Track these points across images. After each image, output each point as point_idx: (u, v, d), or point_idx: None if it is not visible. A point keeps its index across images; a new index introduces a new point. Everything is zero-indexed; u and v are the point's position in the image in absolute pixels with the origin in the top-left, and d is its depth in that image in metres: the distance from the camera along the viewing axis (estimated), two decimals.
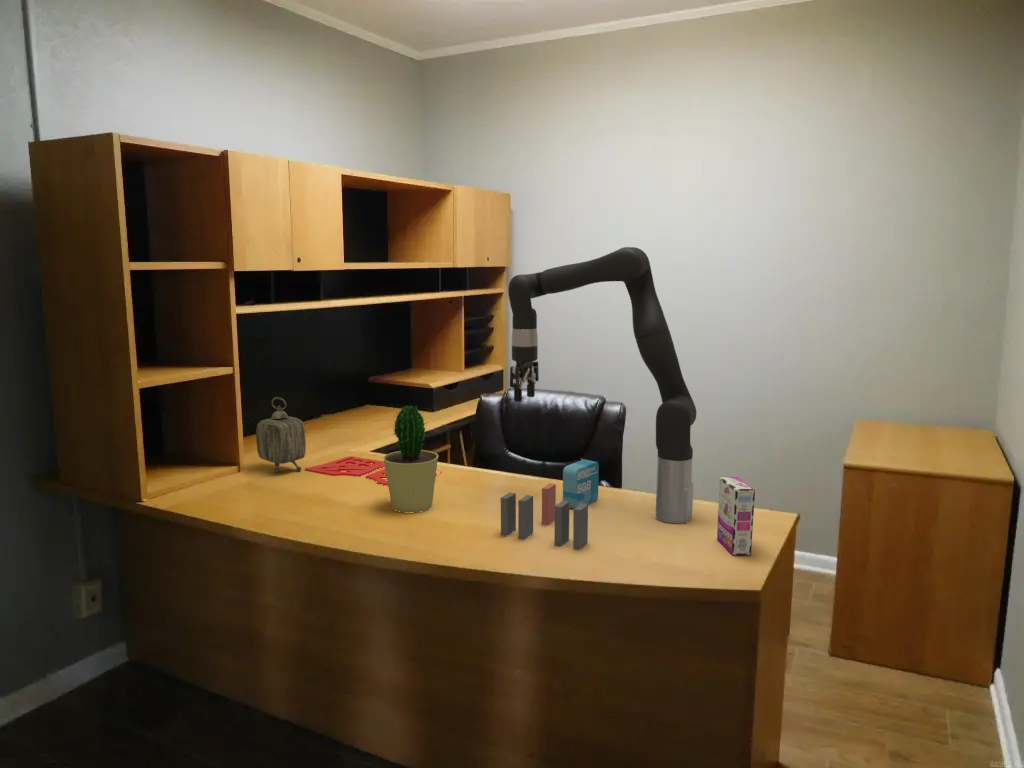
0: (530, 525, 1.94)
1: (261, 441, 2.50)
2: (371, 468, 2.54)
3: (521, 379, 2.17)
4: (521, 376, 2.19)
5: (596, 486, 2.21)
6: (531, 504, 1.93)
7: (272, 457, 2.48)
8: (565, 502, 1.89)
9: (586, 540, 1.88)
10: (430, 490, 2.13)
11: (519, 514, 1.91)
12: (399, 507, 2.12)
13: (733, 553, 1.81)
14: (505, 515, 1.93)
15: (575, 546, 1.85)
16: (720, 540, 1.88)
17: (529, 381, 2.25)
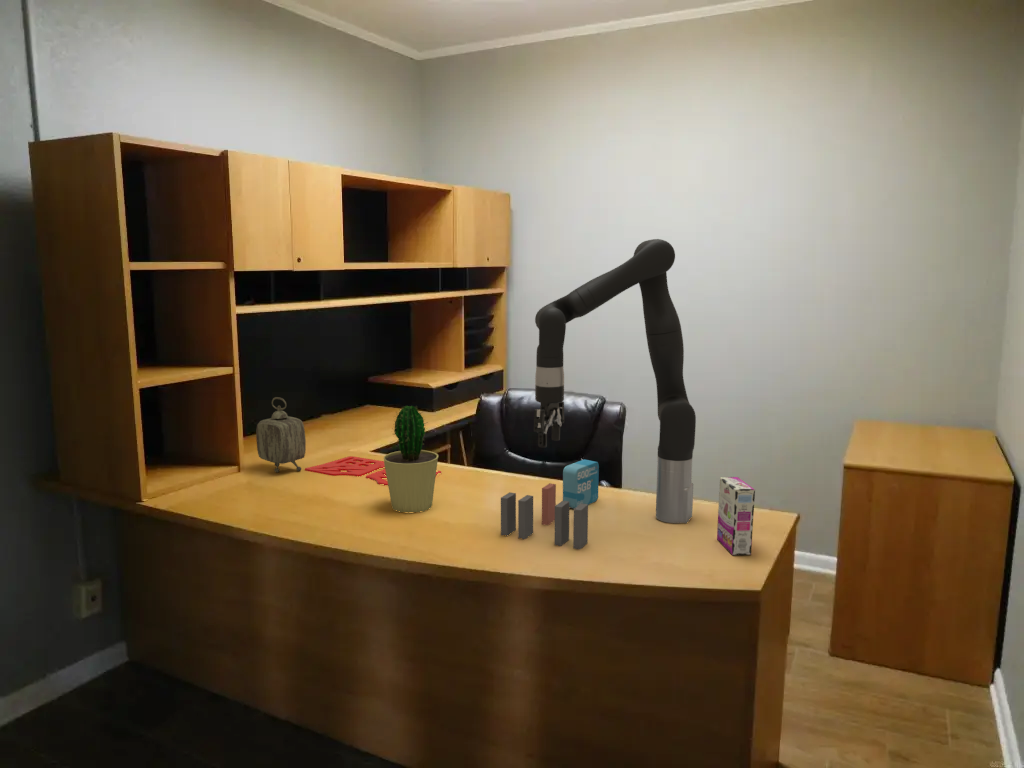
0: (530, 525, 1.94)
1: (261, 441, 2.50)
2: (371, 468, 2.54)
3: (546, 423, 1.96)
4: (546, 419, 1.97)
5: (596, 486, 2.21)
6: (531, 504, 1.93)
7: (272, 457, 2.48)
8: (565, 502, 1.89)
9: (586, 540, 1.88)
10: (430, 490, 2.13)
11: (519, 514, 1.91)
12: (399, 507, 2.12)
13: (733, 553, 1.81)
14: (505, 515, 1.93)
15: (575, 546, 1.85)
16: (720, 540, 1.88)
17: (554, 423, 2.04)
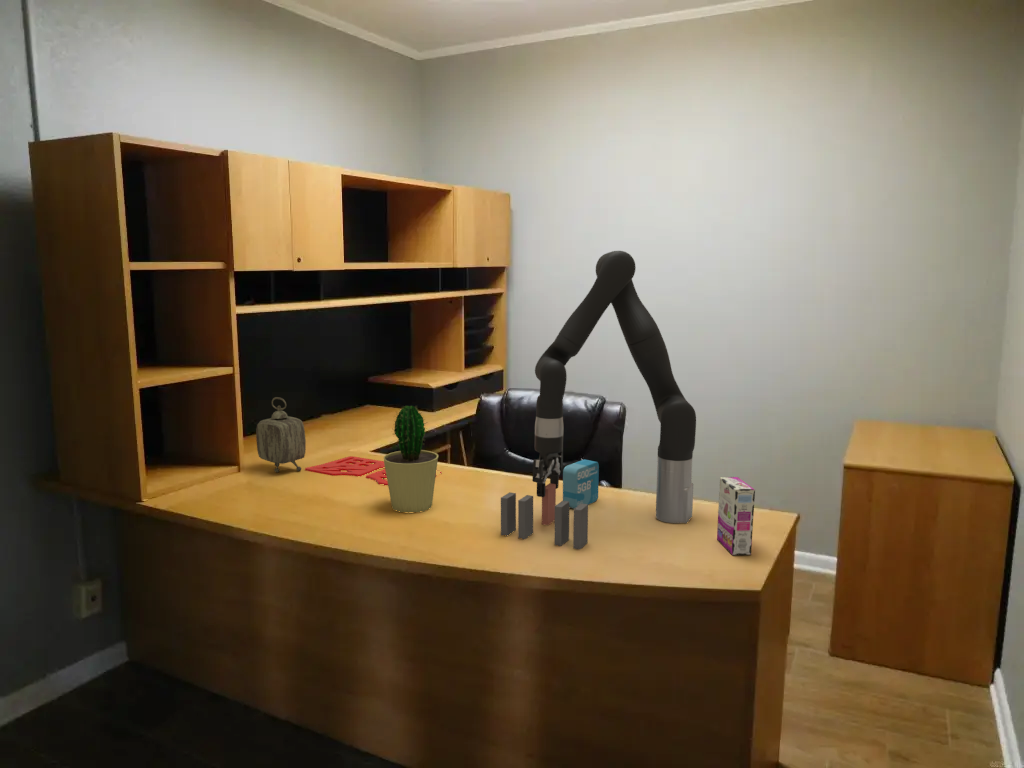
0: (530, 525, 1.94)
1: (261, 441, 2.50)
2: (371, 468, 2.54)
3: (545, 473, 1.98)
4: (545, 469, 1.99)
5: (596, 486, 2.21)
6: (530, 504, 1.93)
7: (272, 457, 2.48)
8: (565, 502, 1.89)
9: (586, 540, 1.88)
10: (430, 490, 2.13)
11: (519, 514, 1.91)
12: (399, 507, 2.12)
13: (733, 553, 1.81)
14: (505, 515, 1.93)
15: (575, 546, 1.85)
16: (720, 540, 1.88)
17: (553, 471, 2.06)
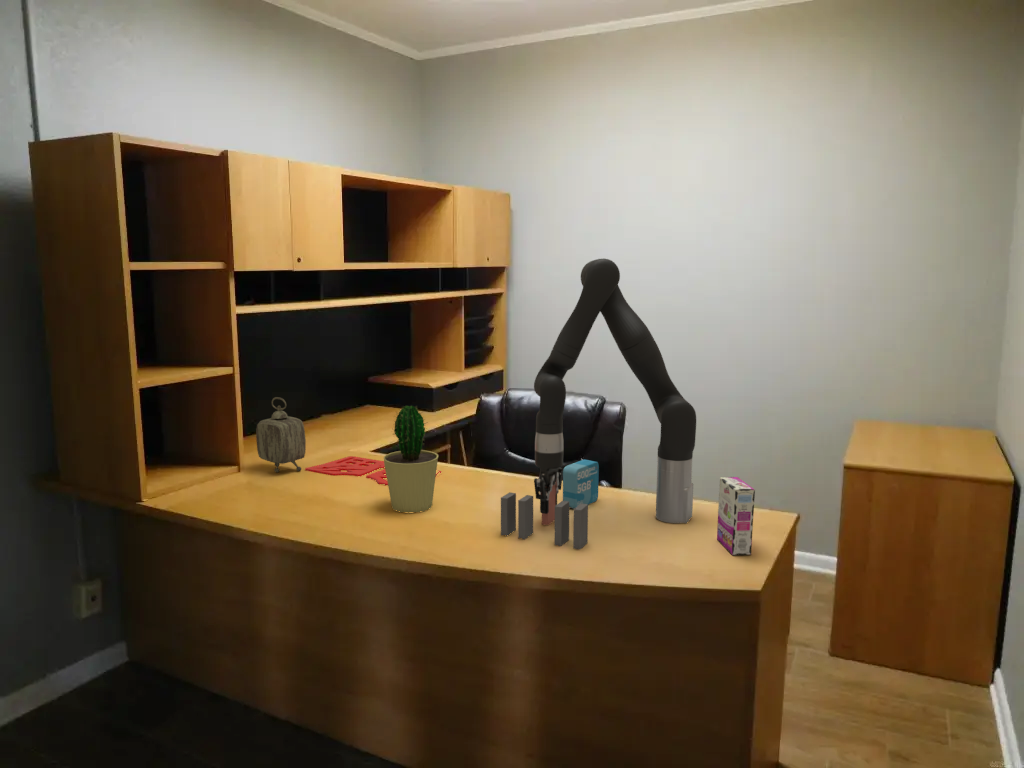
0: (530, 525, 1.94)
1: (261, 441, 2.50)
2: (371, 468, 2.54)
3: (547, 489, 1.99)
4: None
5: (596, 486, 2.21)
6: (530, 504, 1.93)
7: (272, 457, 2.48)
8: (565, 502, 1.89)
9: (586, 540, 1.88)
10: (430, 490, 2.13)
11: (519, 514, 1.91)
12: (399, 507, 2.12)
13: (733, 553, 1.81)
14: (505, 515, 1.93)
15: (575, 546, 1.85)
16: (720, 540, 1.88)
17: None
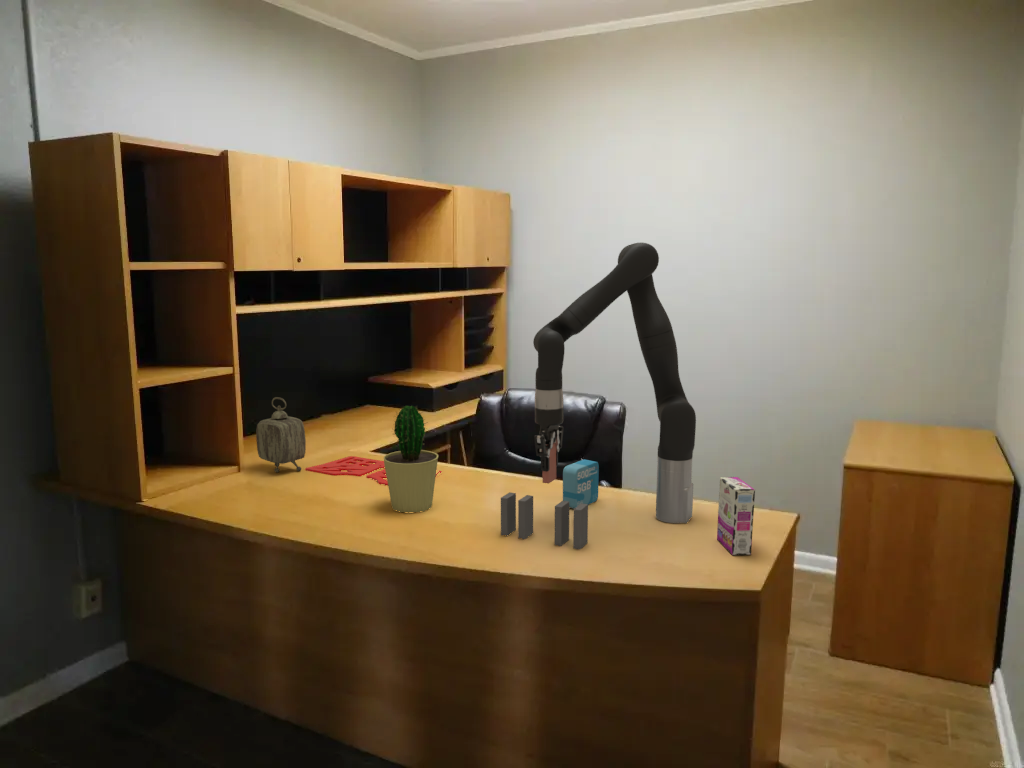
0: (530, 525, 1.94)
1: (261, 441, 2.50)
2: (371, 468, 2.54)
3: (547, 447, 1.97)
4: None
5: (596, 486, 2.21)
6: (530, 504, 1.93)
7: (272, 457, 2.48)
8: (565, 502, 1.89)
9: (586, 540, 1.88)
10: (430, 490, 2.13)
11: (519, 514, 1.91)
12: (399, 507, 2.12)
13: (733, 553, 1.81)
14: (505, 515, 1.93)
15: (575, 546, 1.85)
16: (720, 540, 1.88)
17: None
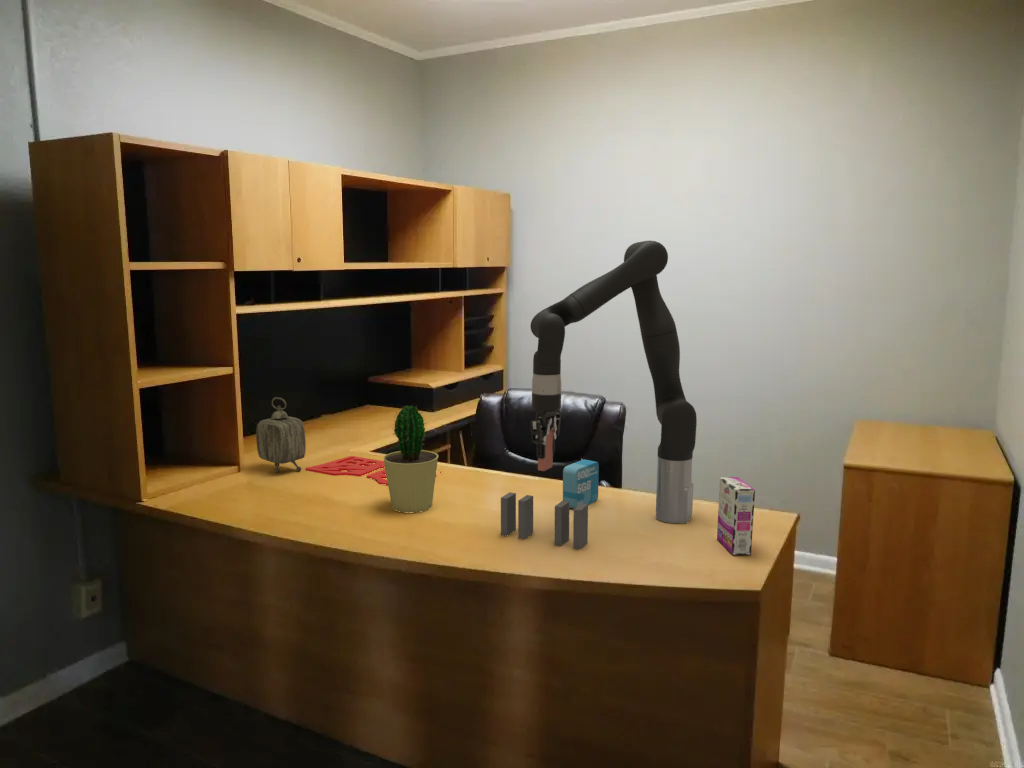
0: (530, 525, 1.94)
1: (261, 441, 2.50)
2: (371, 468, 2.54)
3: (544, 433, 1.92)
4: None
5: (596, 486, 2.21)
6: (531, 504, 1.93)
7: (272, 457, 2.48)
8: (565, 502, 1.89)
9: (586, 540, 1.88)
10: (430, 490, 2.13)
11: (519, 514, 1.91)
12: (399, 507, 2.12)
13: (733, 553, 1.81)
14: (505, 515, 1.93)
15: (575, 546, 1.85)
16: (720, 540, 1.88)
17: None
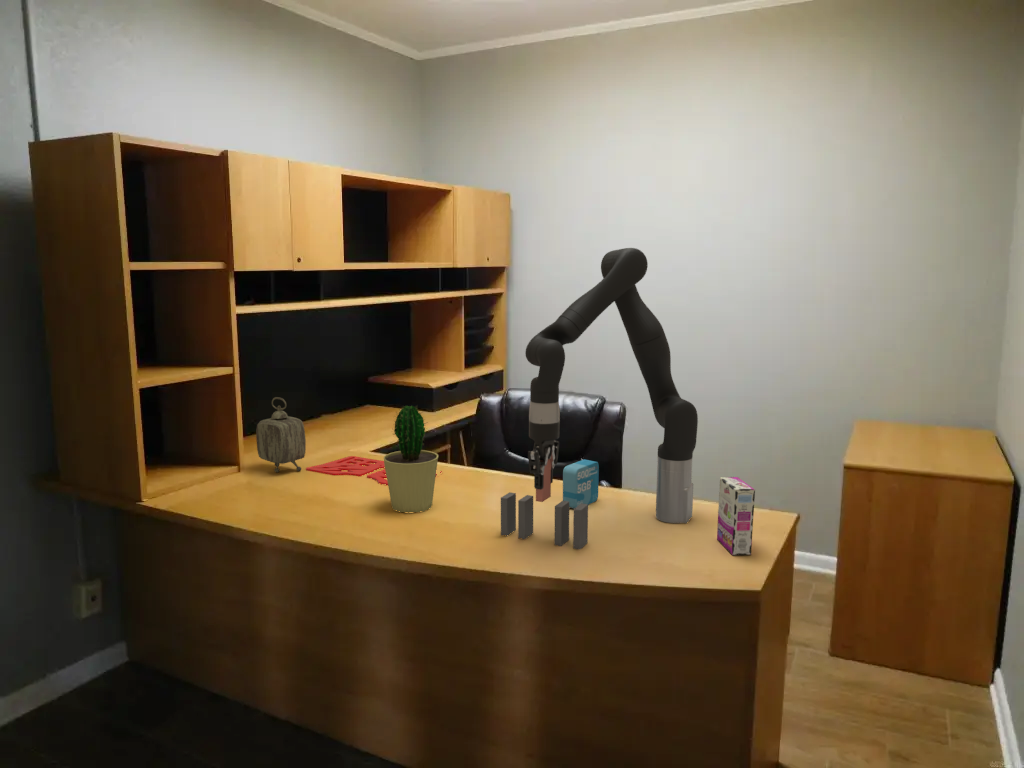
0: (530, 525, 1.94)
1: (261, 441, 2.50)
2: (372, 468, 2.54)
3: (542, 463, 1.85)
4: None
5: (596, 486, 2.21)
6: (531, 504, 1.93)
7: (272, 457, 2.48)
8: (565, 502, 1.89)
9: (586, 540, 1.88)
10: (430, 490, 2.13)
11: (519, 514, 1.91)
12: (399, 507, 2.12)
13: (733, 553, 1.81)
14: (505, 515, 1.93)
15: (575, 546, 1.85)
16: (720, 540, 1.88)
17: None
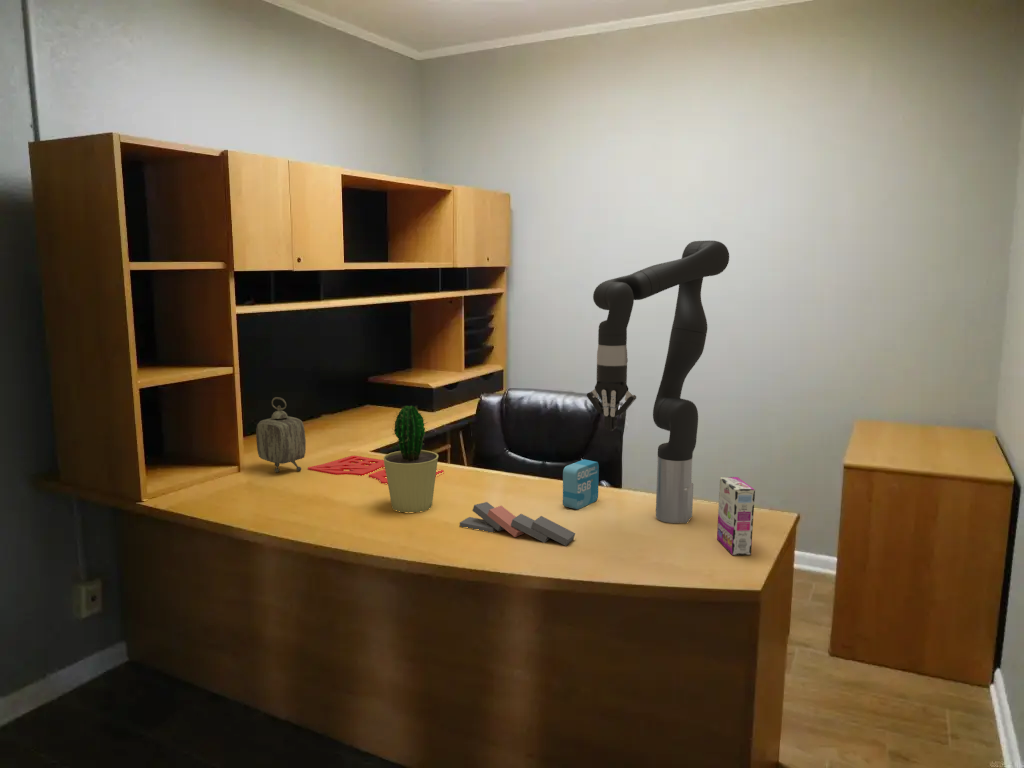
0: None
1: (261, 441, 2.50)
2: (373, 467, 2.55)
3: None
4: None
5: (596, 486, 2.21)
6: (488, 506, 2.03)
7: (272, 457, 2.48)
8: None
9: (571, 532, 1.91)
10: (430, 490, 2.13)
11: (481, 516, 1.99)
12: (399, 507, 2.12)
13: (733, 553, 1.81)
14: (474, 526, 1.98)
15: (564, 542, 1.87)
16: (720, 540, 1.88)
17: None
